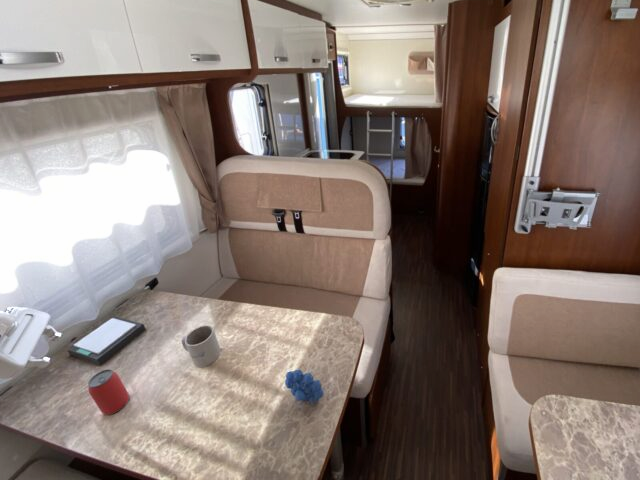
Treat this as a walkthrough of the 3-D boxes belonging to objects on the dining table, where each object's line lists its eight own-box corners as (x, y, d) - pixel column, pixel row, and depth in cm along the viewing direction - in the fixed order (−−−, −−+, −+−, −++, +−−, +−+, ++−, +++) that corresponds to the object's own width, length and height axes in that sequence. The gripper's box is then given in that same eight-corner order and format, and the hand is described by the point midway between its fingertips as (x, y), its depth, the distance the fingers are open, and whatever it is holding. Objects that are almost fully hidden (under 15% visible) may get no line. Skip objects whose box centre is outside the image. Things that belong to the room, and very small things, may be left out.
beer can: (107, 420, 87) (89, 393, 83) (98, 408, 91) (81, 381, 86) (133, 400, 93) (118, 373, 88) (124, 389, 96) (110, 363, 91)
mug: (226, 349, 108) (219, 328, 104) (205, 370, 101) (196, 349, 97) (201, 340, 113) (194, 319, 109) (180, 359, 105) (171, 338, 101)
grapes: (282, 410, 88) (274, 383, 83) (292, 388, 94) (286, 361, 89) (319, 417, 86) (313, 390, 81) (327, 394, 92) (323, 367, 87)
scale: (100, 365, 104) (96, 357, 103) (70, 355, 109) (65, 347, 107) (145, 329, 118) (142, 322, 117) (117, 321, 123) (113, 314, 121)
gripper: (-2, 313, 80) (56, 332, 89) (-48, 374, 64) (28, 391, 73) (20, 295, 82) (75, 316, 90) (-20, 351, 66) (52, 370, 74)
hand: (54, 350), depth 81 cm, fingers open, 8 cm apart
